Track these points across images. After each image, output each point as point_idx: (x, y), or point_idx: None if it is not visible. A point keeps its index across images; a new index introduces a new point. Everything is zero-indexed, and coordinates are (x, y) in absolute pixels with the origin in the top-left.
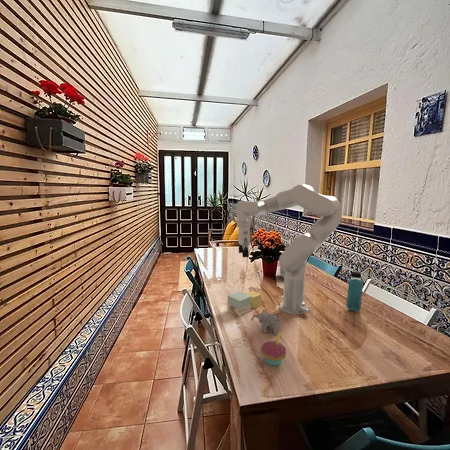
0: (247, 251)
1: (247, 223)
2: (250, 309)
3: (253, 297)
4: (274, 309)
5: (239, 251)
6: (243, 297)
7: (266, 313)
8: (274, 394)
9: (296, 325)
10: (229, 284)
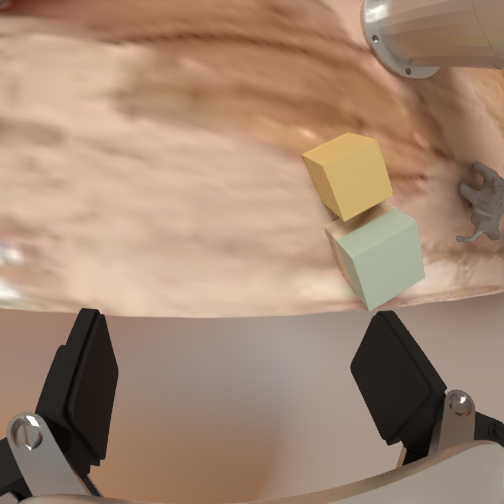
0: (424, 380)
1: None
2: (384, 201)
3: (392, 194)
4: (394, 98)
5: (114, 385)
6: (410, 256)
7: (496, 214)
8: None
9: (478, 104)
10: (69, 215)
